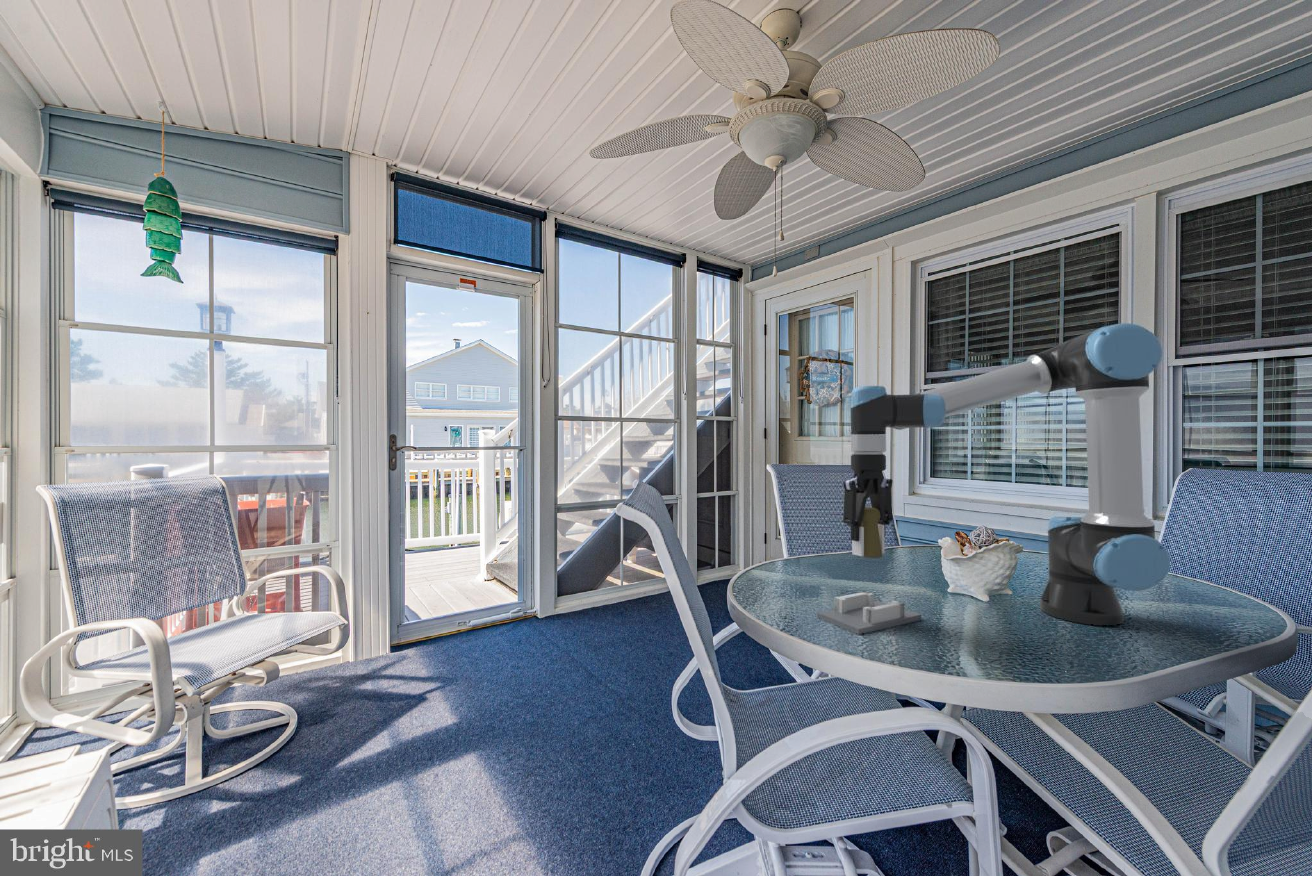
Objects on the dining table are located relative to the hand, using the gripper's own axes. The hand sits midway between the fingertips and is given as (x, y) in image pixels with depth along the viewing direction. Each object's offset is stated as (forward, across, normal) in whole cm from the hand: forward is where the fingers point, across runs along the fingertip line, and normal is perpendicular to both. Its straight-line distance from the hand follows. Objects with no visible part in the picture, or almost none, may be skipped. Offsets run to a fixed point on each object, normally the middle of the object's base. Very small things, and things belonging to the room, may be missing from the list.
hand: (868, 553), depth 120 cm
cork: (+1, 0, 0) cm, 1 cm away
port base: (+15, 0, 0) cm, 15 cm away
